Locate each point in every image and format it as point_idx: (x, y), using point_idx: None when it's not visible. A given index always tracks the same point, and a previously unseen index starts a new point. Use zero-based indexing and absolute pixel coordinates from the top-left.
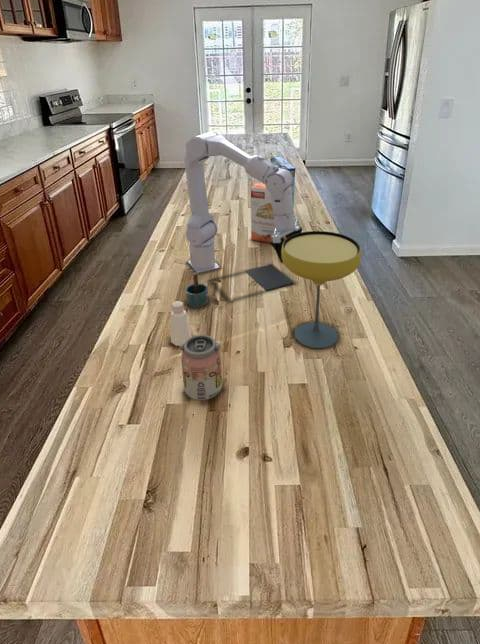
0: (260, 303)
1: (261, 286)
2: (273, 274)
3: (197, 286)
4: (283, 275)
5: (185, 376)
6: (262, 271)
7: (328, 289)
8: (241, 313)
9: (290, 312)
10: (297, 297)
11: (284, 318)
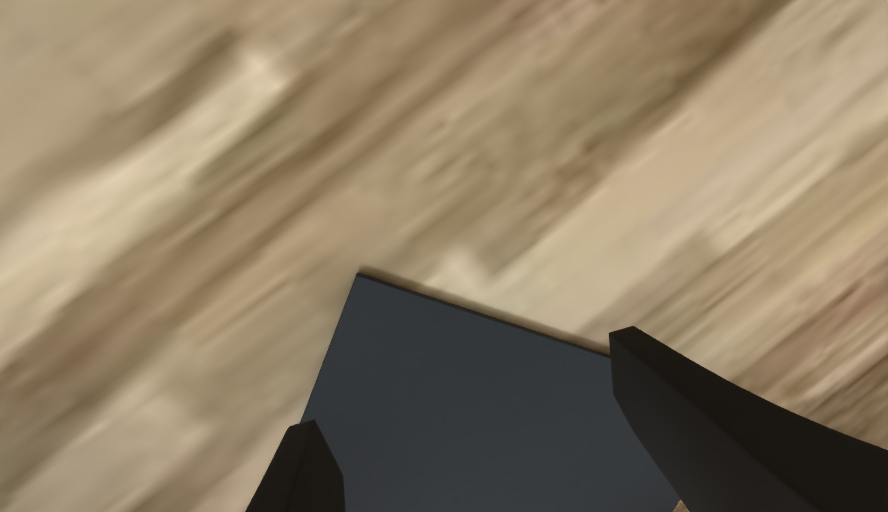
0: (672, 272)
1: (529, 383)
2: (362, 428)
3: None
4: (326, 380)
5: None
6: (379, 492)
7: (235, 15)
8: (801, 280)
9: (669, 66)
10: (489, 141)
11: (744, 55)
